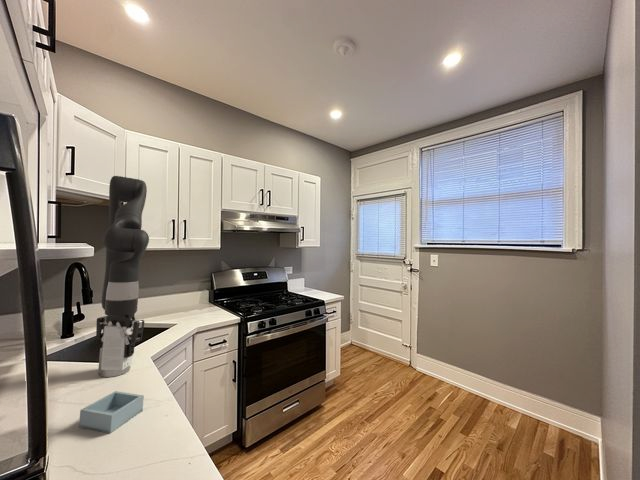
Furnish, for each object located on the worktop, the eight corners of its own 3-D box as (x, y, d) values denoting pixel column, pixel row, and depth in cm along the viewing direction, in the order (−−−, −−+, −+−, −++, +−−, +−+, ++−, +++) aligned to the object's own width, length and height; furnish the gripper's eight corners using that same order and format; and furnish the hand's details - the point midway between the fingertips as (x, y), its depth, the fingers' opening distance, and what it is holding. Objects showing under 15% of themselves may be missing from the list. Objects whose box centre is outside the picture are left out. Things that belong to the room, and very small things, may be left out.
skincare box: (132, 364, 77) (135, 323, 78) (122, 370, 73) (125, 327, 73) (111, 363, 77) (114, 322, 77) (99, 370, 73) (103, 326, 73)
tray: (78, 427, 70) (80, 409, 70) (114, 406, 80) (115, 391, 80) (110, 433, 68) (111, 415, 68) (142, 410, 78) (143, 395, 78)
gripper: (154, 296, 78) (150, 353, 77) (113, 293, 81) (109, 348, 80) (132, 301, 71) (127, 363, 70) (88, 297, 73) (83, 357, 73)
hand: (117, 355), depth 75 cm, fingers closed on skincare box, 6 cm apart
